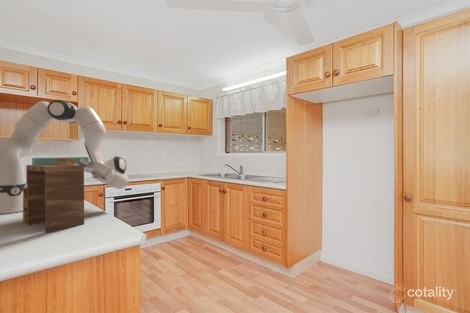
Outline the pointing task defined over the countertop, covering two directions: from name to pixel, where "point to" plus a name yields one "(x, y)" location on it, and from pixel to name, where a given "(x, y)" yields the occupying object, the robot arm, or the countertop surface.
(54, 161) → the teal block
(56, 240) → the countertop surface
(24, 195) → the candy box
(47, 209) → the wooden cabinet unit
